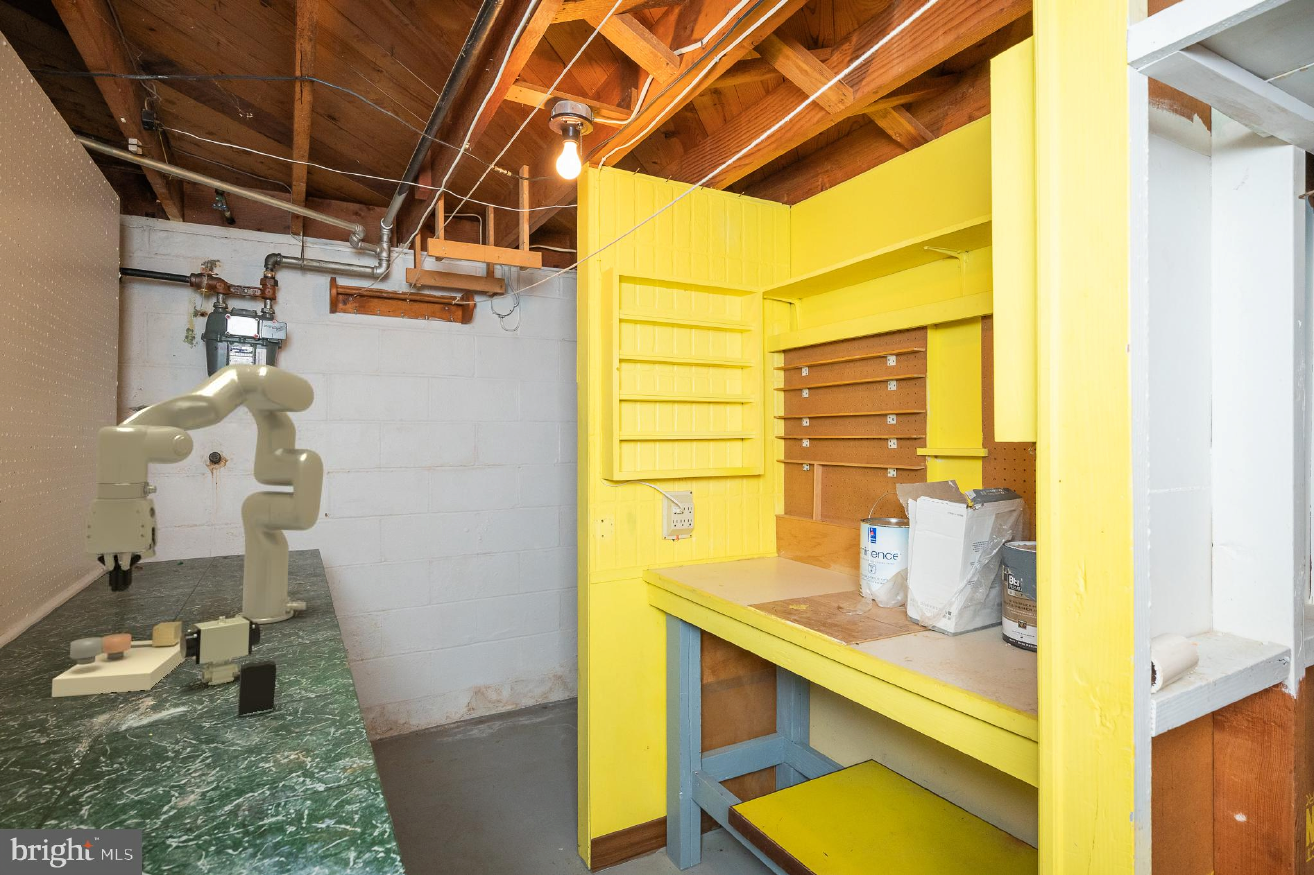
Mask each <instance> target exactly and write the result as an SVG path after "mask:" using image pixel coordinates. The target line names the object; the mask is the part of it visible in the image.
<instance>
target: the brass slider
mask: <svg viewBox="0 0 1314 875" xmlns="http://www.w3.org/2000/svg"><path fill="white" fill-rule="evenodd" d="M182 624H183V622H182V621H169V622H167V621H166V622H160V623H158V624H157V625H155V626H154V627H152V646H167V645H175V644H176V643H177V642H178V641H180V638H181V635H182V629H183V628H182V627H183V625H182Z"/></svg>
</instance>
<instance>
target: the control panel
mask: <svg viewBox="0 0 1314 875" xmlns="http://www.w3.org/2000/svg"><path fill="white" fill-rule="evenodd" d="M185 659H186V660H187V659H188V658H185ZM185 659H183V658H182V656H181V653H180V641H178V642H177V643H176V644H175V645H167V646H152V640H151V639H150V640H135V641H132V640H131V648H130V649H129V650H126V651H124V656H123V657H122V658H118V659H107V653H102V654H100V655H97V656H95V662H94V663H90V664H84V665H78V664H77V663H76V665H73V666H72V667H71V668H68V669H67V670H66V671H64V672H62V673H61V674H59V675H58V676H56V677H54V678H52V683H51V698H59V697H73V696H74V697H75V696H86V695H100V694H101V693H103V694H112V693H111V692H117V693H127V692H128V691H131V692H141V691H140V690H145V691H151V688H152V687H153V686H154V685H155V684H156V683H157V684H159V683H160V682H161V681H162V680H164V678H163V677H165V676H166V675H167V674H168V675H169V674H170V673H172V672H173V671H174V670H175V669H176V668H177V667H179V666H180V665H181V664H182V663H183V662H185V661H186V660H185ZM180 663H181V664H180ZM179 664H180V665H179ZM178 665H179V666H178ZM176 666H177V667H176ZM174 668H175V669H174ZM172 670H173V671H172ZM171 671H172V672H171ZM168 675H167V676H168ZM167 676H166V677H167ZM166 677H165V678H166ZM161 679H162V680H161ZM160 680H161V681H160ZM159 681H160V682H159ZM158 682H159V683H158ZM157 684H156V685H157ZM156 685H155V686H156ZM155 686H154V687H155ZM154 687H153V688H154ZM153 688H152V689H153Z"/></svg>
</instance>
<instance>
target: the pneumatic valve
mask: <svg viewBox="0 0 1314 875" xmlns="http://www.w3.org/2000/svg"><path fill="white" fill-rule="evenodd" d="M261 634H262V632H261V628H260V624H258V623H257V622H253V621H252V620H250V619H249V618H247V617H245V616H244V617H237V618H235V617H231V618H226V616H225V615H222V616H218V619H217V620H211V621H206V622H205V621H204V622H198V623H192V624H189V629H188V630H187V632H185V633H181V638H180V653H181V656H182V658H183V659H185V658H187V659H188V660H189V661H190V662H191V663H193V664H194V665H195V666H196V665H203V664H205V665H204V669H202V671H201V677H200V678H201V682H202V683H205V684H206V683H207V682H209V683H207V685H208V686H209V685H210V686H211V685H214V684H220V683H225V682H230V681H232V682H233V680H235V677H237V676H238V673H239V667H238V664H237V663H232V662H231V661H232V660H233V658H239V657H246V656H250V655H253V649H254V647H256V646H257V647H258V645H259V644H260V642H261ZM230 683H231V682H230ZM225 684H226V683H225ZM220 685H221V684H220Z"/></svg>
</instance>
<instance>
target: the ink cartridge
mask: <svg viewBox="0 0 1314 875" xmlns="http://www.w3.org/2000/svg"><path fill="white" fill-rule="evenodd" d="M239 673H240V674H239V685H238V686H239V689H238V703H237V704H238V705H237V712H238V716H239V715H243V714H247V713H253V712H257V711H264V710H268V709H272V708H274V709H275V695H276V694H275V693H276V680H277V664H276V662H275V660H272V661H271V660H270V659H269V660H264V661H257V662H256V661H255V662H247V663H244V664H241V665H240V672H239Z"/></svg>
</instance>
